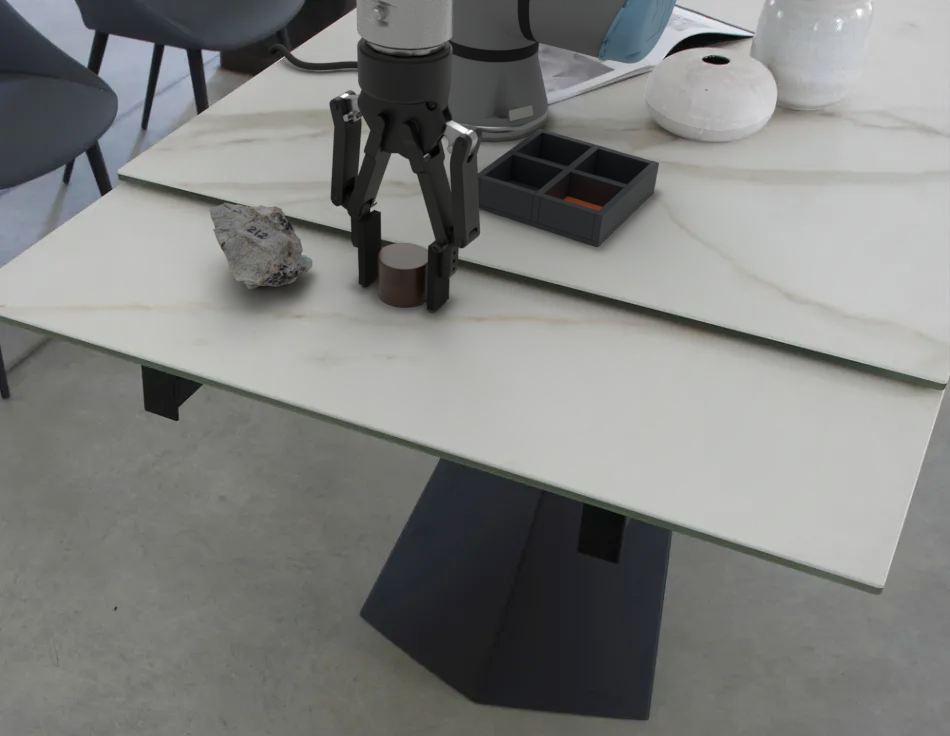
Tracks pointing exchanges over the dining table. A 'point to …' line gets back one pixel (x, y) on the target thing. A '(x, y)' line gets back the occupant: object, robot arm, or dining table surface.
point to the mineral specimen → (259, 245)
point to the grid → (566, 186)
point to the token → (402, 274)
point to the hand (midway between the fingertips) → (403, 290)
